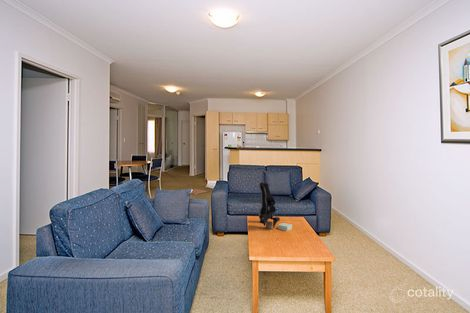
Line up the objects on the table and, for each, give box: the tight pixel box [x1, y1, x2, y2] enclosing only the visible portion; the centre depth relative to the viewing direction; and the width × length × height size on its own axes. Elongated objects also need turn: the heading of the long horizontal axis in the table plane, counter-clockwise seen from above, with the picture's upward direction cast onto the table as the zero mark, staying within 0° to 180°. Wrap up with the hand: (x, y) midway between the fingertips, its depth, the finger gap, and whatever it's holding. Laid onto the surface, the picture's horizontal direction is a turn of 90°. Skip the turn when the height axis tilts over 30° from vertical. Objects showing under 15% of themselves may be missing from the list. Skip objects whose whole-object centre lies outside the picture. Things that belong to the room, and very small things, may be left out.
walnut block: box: [265, 220, 274, 230], centre depth 236 cm, size 4×4×6 cm
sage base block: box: [277, 222, 293, 232], centre depth 236 cm, size 9×9×4 cm
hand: (269, 227), depth 236 cm, fingers open, 9 cm apart
